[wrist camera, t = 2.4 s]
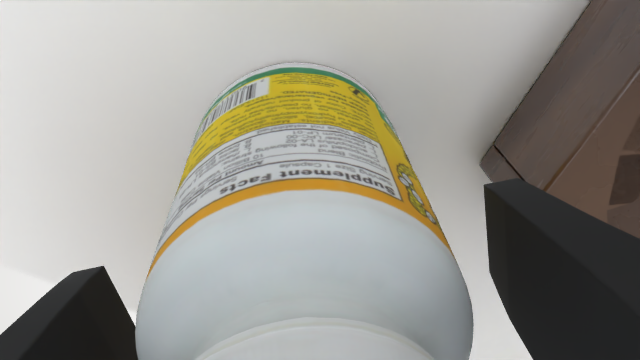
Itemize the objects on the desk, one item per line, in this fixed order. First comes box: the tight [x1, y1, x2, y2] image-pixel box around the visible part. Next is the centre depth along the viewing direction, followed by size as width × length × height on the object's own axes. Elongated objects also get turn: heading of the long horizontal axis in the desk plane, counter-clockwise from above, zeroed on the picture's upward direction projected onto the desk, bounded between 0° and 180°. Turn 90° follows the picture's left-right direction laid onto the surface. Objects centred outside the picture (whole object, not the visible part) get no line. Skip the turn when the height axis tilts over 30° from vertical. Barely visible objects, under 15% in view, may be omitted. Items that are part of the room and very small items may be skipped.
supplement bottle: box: [135, 63, 473, 360], centre depth 10 cm, size 5×5×10 cm
